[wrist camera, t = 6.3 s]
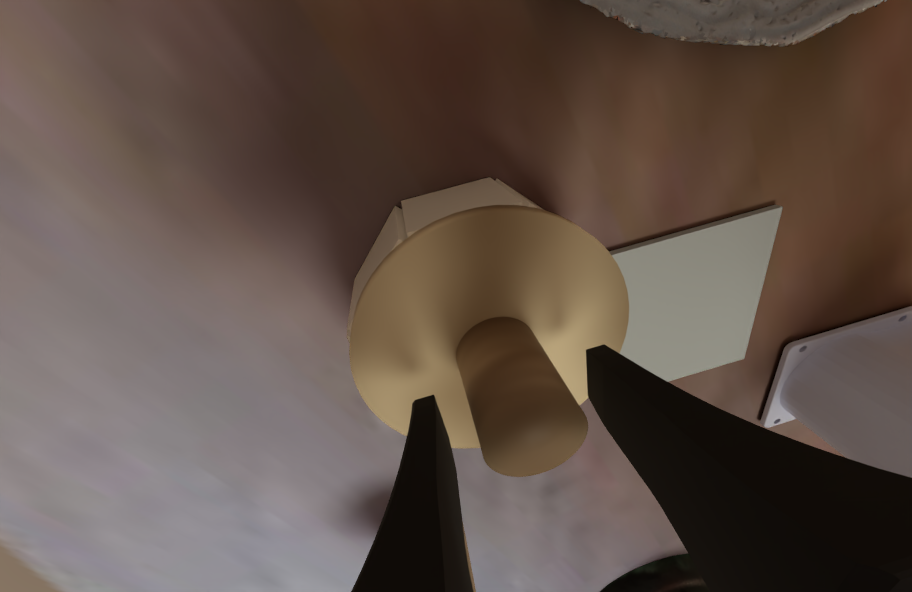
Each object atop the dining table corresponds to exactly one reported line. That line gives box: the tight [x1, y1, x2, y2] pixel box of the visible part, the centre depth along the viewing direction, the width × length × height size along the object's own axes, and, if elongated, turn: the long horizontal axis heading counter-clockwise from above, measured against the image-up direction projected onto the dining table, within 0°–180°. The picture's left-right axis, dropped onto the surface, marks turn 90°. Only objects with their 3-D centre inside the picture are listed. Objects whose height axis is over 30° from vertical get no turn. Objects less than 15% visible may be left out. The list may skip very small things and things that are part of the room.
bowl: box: [347, 177, 544, 343], centre depth 16 cm, size 10×10×4 cm
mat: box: [609, 205, 783, 382], centre depth 20 cm, size 10×10×1 cm
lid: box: [349, 205, 629, 477], centre depth 12 cm, size 10×10×5 cm
